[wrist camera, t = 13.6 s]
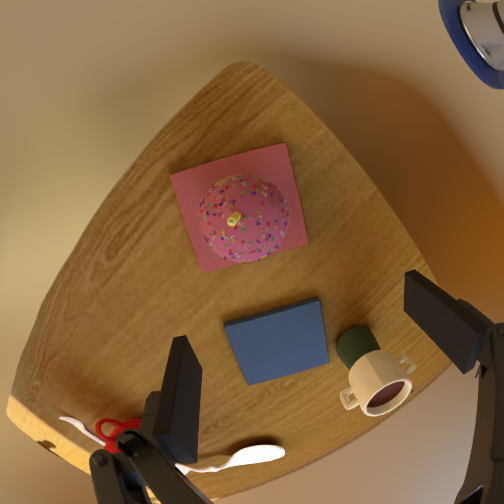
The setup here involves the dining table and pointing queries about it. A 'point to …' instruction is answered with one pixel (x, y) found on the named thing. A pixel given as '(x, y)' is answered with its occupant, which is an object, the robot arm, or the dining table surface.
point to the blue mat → (279, 341)
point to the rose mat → (251, 162)
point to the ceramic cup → (115, 432)
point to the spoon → (241, 458)
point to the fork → (81, 428)
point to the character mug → (373, 373)
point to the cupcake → (243, 217)
